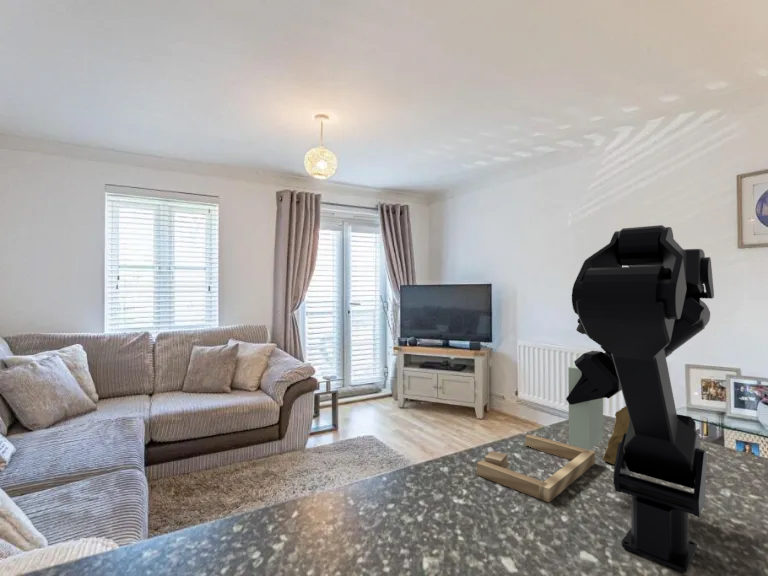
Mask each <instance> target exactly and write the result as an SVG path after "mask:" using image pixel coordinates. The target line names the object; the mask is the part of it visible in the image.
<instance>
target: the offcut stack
mask: <svg viewBox="0 0 768 576" xmlns="http://www.w3.org/2000/svg"><path fill="white" fill-rule="evenodd" d="M484 461H486V462H488V463H491V464H494V465H497V466H500V467H503V468H506V469H508V470H511V465H510V464H511V463H510V462H509V461H508V454H506V453H501V452H498V451H494V450H491V451H489V452H488V453H487V454H486V455H485V456H484Z"/></svg>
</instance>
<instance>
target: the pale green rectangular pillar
mask: <svg viewBox="0 0 768 576" xmlns="http://www.w3.org/2000/svg"><path fill="white" fill-rule="evenodd" d="M581 375H582V373H581V371H580V370H579V369H578V368H577V367H576V365H575V364H573V365H571V366H568V375H567V376H568V378H567V379H568V381H567V382H568V383H567V384H568V395H569V394H570V392H571V391H572V389H573V388H574V386H575V385H576V384H577V382H578V381H579V379H580V377H581ZM603 440H604V398H601V399H596V400H591V401H586V402H582V403H577V404H572V405H571V404H569V403H568V445H571V446H575V447H578V448H582V449H586V450H589V451H591V449H593V448H594V447H595V446H597V445H598V444H599V443H600V442H602V441H603Z"/></svg>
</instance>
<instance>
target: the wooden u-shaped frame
mask: <svg viewBox="0 0 768 576" xmlns="http://www.w3.org/2000/svg"><path fill="white" fill-rule="evenodd" d="M524 439H525V447H526V446H529V447H528V448H530V447H531V448H530V449H533V448H534V450H536V449H537V451H539V452H544V453H547V454H550V455H554V456H557V457H559V458H560V457H561V458H564V459H568V460H570V461H569V462H568V463H566V464H565V465H564V466H563V467H561V468H560V469H559V470H557V471H556V472H554V473H553V474H552V475H551V476H550V477H548V478H547V479H546V480H544V481H542V480H539V479H537V478H534V477H531V476H528V475H525V474H522V473H520V472H516V471H514V470H511V469H510V470H508V469H506V468H503V467H500V466H497V465H494V464H491V463H488V462H486V461H485V460H482V459H481V460H479V461H477V462H476V475H477V476H478V477H481V478H484V479H487V480H489V481H491V482H495V483H498V484H499V485H502V486H505V487H507V488H510V489H513V490H515V491H518V492H521V493H523V494H525V495H528V496H531V497H534V498H536V499H539V500H542V501H544V502H547V503H551V502H552V501H553V500H554V499H555V498H556V497H557V496H559V495H560V494H561V493H562V492H564V490H565V489H567V488H568V487H569V486H570V485H571V484H572V483H573V482H575V481H576V480H577V479H579V478H580V477H581V476H582V475H583V474H584V473H585V472H586V471H588V470H589V469H590V468H591V467H593V466H594V465H595V464H596V452H595V451H593V450H587V449H584V448H580V447H576V446H572V445H569V444H568V443H564V442H560V441H556V440H552V439H548V438H544V437H541V436H537V435H534V434H530V433H528V434H527V435H525V438H524Z"/></svg>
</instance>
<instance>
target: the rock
mask: <svg viewBox="0 0 768 576" xmlns="http://www.w3.org/2000/svg"><path fill="white" fill-rule="evenodd" d="M614 415H615V419H614V420H615V421H614V426H613V429H612V430H613V431H612V434H611V436H610V437H609V439H608V442H607V447H606V450H605V452H604V454H603V457H602V461H603V462H606V463H608V464H611V465H613V466H615V460H616V455H617V449H618V444H619V442H621V441H622V439H623V436H624V434H625V433H627V430H628V426H629V422H630V418H629V414H628V411H627V407H626V405H625V406H623V407H622V408H621V409H619V410H618V411H616V412H615V414H614Z"/></svg>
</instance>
